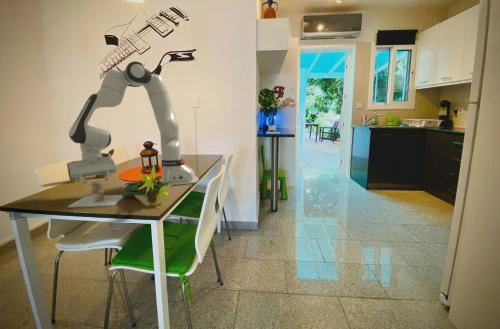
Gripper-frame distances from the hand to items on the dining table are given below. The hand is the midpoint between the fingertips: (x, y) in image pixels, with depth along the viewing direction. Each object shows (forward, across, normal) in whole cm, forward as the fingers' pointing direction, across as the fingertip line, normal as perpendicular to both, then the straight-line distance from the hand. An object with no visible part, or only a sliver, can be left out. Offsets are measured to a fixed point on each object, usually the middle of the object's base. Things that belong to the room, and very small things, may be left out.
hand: (96, 181), depth 123 cm
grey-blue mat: (+11, 0, +1) cm, 11 cm away
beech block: (+10, 0, +1) cm, 10 cm away
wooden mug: (-29, +8, +42) cm, 52 cm away
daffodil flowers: (+20, +17, -8) cm, 28 cm away
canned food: (-27, -9, +40) cm, 49 cm away
